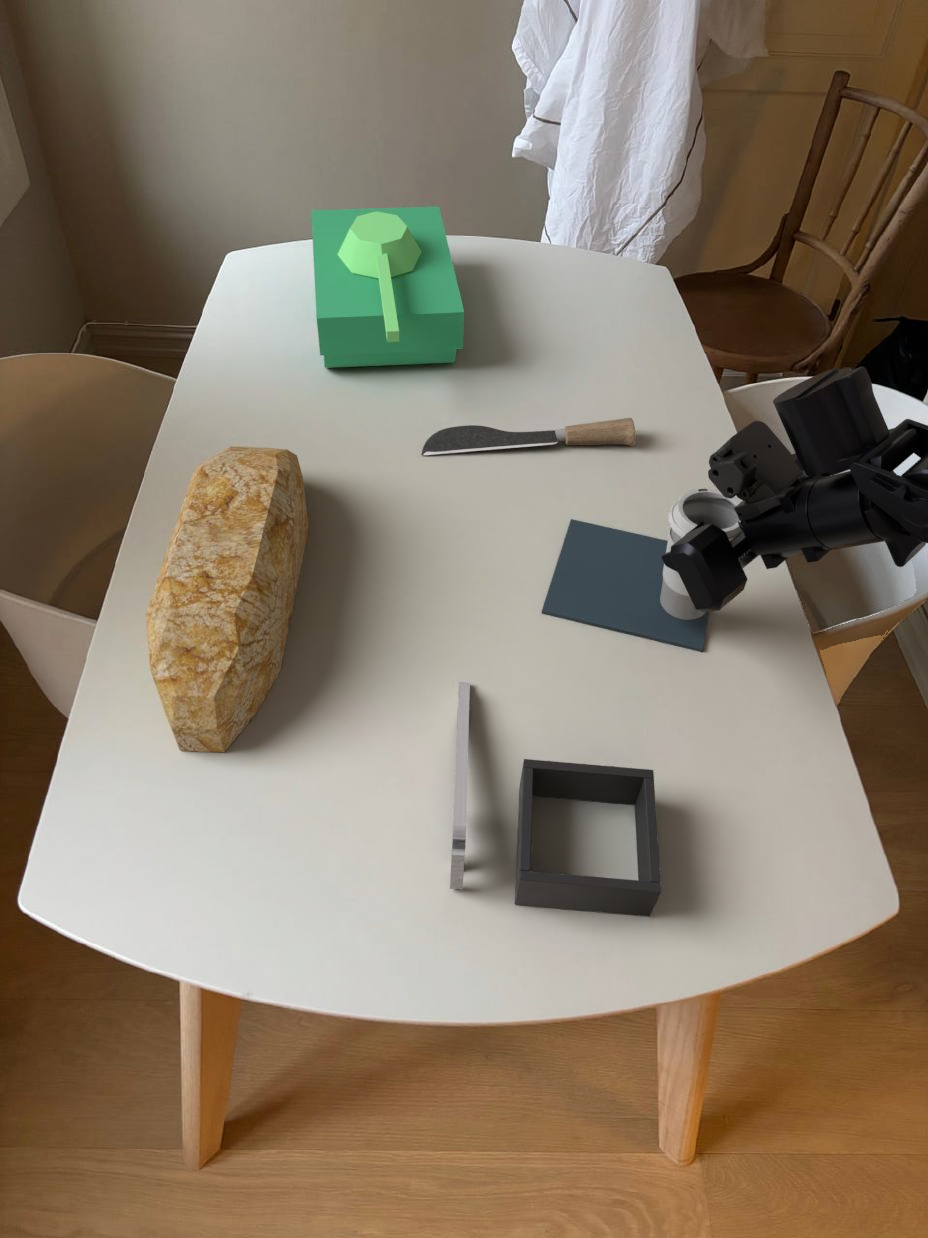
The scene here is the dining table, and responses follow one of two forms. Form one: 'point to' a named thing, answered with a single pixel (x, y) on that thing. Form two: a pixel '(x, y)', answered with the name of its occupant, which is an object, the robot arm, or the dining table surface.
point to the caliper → (460, 789)
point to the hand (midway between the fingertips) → (688, 542)
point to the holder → (593, 787)
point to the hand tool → (528, 437)
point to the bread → (227, 593)
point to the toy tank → (385, 287)
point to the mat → (617, 586)
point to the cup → (683, 519)
